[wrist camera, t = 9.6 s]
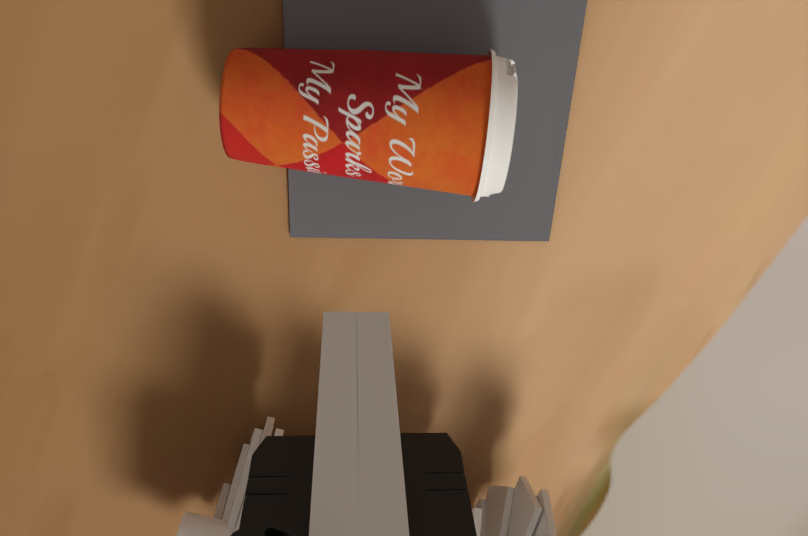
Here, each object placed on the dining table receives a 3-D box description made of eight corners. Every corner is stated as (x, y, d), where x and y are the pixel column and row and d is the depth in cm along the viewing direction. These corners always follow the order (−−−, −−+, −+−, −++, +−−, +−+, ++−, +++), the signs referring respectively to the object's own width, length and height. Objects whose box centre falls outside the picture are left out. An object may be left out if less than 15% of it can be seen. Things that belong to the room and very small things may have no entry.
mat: (290, 234, 43) (290, 237, 43) (280, -97, 35) (279, -97, 34) (547, 239, 44) (548, 241, 44) (598, -80, 36) (600, -80, 36)
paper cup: (205, 58, 31) (526, 87, 31) (247, 5, 37) (514, 29, 37) (220, 210, 35) (498, 235, 35) (255, 140, 42) (491, 162, 41)
